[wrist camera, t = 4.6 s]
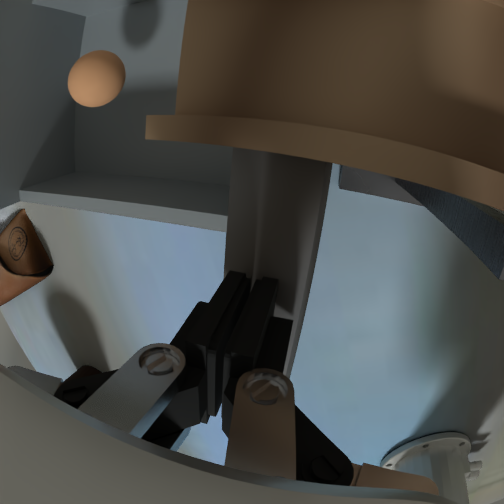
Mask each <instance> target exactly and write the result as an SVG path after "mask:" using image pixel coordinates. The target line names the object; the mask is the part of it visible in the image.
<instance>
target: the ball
mask: <svg viewBox="0 0 504 504" xmlns="http://www.w3.org/2000/svg"><path fill="white" fill-rule="evenodd" d="M125 78H126V71H125V66H124V64H123V62H122V60H121V59H120V58H119V57H118V56H117V55H116V54H114V53H112V52H110V51H106V50H96V51H92V52H89V53H87V54H85V55H83V56H82V57H81V58H79V59H78V60H77V61H76V62H75V64H74V65H73V67H72V68H71V70H70V73H69V76H68V89H69V92H70V94H71V96H72V98H73V99H74V100H75V101H76V102H78V103H79V104H81V105H83V106H87V107H98V106H102V105H105V104H107V103H109V102H110V101H112V100H113V99H114V98H115V97H116V96H117V95H118V94H119V93H120V91H121V90H122V88H123V86H124V83H125Z"/></svg>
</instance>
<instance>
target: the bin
mask: <svg viewBox="0 0 504 504" xmlns="http://www.w3.org/2000/svg"><path fill="white" fill-rule="evenodd" d="M187 4H188V0H0V209H2V208H5V207H7V206H9V205H12V204H14V203H17V202H19V201H23V202H30V203H37V204H44V205H52V206H59V207H66V208H73V209H79V210H86V211H93V212H100V213H107V214H113V215H120V216H126V217H133V218H139V219H146V220H152V221H159V222H165V223H172V224H178V225H184V226H190V227H197V228H203V229H209V230H215V231H221V232H227V218H228V204H229V190H230V177H231V164H232V152H233V147H229V146H221V145H212V144H202V143H191V142H179V141H166V140H150V139H145V133H146V115H175V109H176V96H177V85H178V75H179V65H180V56H181V47H182V39H183V31H184V24H185V17H186V10H187ZM96 50H106V51H110V52H112V53H114V54H116V55H117V56H118V57H119V58H120V59H121V60H122V62H123V64H124V66H125V71H126V78H125V83H124V86H123V88H122V90H121V91H120V93H119V94H118V95H117V96H116V97H115V98H114V99H113V100H112V101H110V102H109V103H107V104H105V105H102V106H98V107H87V106H83V105H81V104H79V103H78V102H76V101H75V100H74V99H73V98H72V96H71V94H70V92H69V89H68V76H69V73H70V70H71V68H72V67H73V65H74V64H75V62H76V61H77V60H78V59H79V58H81V57H82V56H83V55H85V54H87V53H89V52H92V51H96Z"/></svg>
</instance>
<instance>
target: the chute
mask: <svg viewBox="0 0 504 504" xmlns="http://www.w3.org/2000/svg"><path fill="white" fill-rule="evenodd" d="M145 139H150V140H166V141H179V142H191V143H202V144H212V145H221V146H229V147H233V152H232V164H231V177H230V190H229V204H228V218H227V232H226V248H225V264H224V278H225V277H226V275H227V273H228V272H229V271H230V270H231V271H237V272H242V273H246V278H251V285H250V292H251V290H252V288H253V285H254V283H255V281H256V279H257V280H262V278H263V276H264V277H269V278H275V279H279V284H278V290H277V297H276V303H275V310H274V316H275V317H280V318H286V319H291V320H293V325H292V331H291V336H290V341H289V346H288V351H287V356H286V361H285V366H284V371H283V374H284V375H285V376H287V377H288V378H290V375H291V371H292V367H293V363H294V359H295V354H296V350H297V346H298V342H299V338H300V333H301V329H302V325H303V320H304V316H305V311H306V307H307V302H308V298H309V293H310V288H311V283H312V278H313V273H314V268H315V263H316V258H317V253H318V248H319V242H320V237H321V231H322V226H323V220H324V214H325V208H326V202H327V196H328V190H329V183H330V177H331V170H332V163H335V164H340V165H344V166H349V167H354V168H358V169H363V170H367V171H371V172H376V173H380V174H384V175H388V176H392V177H396V178H400V179H403V180H407V181H411V182H415V183H418V184H422V185H425V186H429V187H432V188H436V189H439V190H442V191H446V192H449V193H452V194H455V195H459V196H462V197H465V198H468V199H471V200H474V201H477V202H480V203H483V204H485V205H488V206H491V207H494V208H497V209H499V210H502V211H504V0H188V4H187V10H186V17H185V24H184V31H183V39H182V47H181V56H180V65H179V75H178V85H177V96H176V109H175V115H146V133H145Z"/></svg>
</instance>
